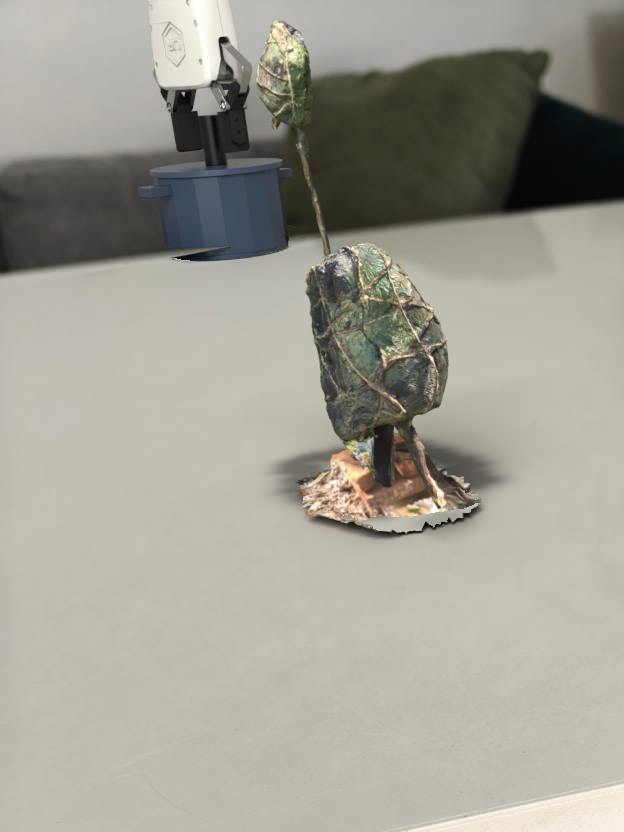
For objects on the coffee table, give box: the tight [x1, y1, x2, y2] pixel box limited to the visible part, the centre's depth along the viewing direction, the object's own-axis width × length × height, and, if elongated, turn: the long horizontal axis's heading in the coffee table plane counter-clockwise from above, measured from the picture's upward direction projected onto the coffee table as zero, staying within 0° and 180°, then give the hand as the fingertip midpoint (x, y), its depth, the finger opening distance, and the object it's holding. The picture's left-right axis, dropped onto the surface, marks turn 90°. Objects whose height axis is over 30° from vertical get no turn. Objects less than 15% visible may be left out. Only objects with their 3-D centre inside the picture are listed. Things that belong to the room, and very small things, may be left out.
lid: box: [148, 113, 284, 179], centre depth 124 cm, size 15×15×6 cm
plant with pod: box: [255, 19, 482, 533], centre depth 47 cm, size 8×11×20 cm
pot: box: [137, 167, 293, 262], centre depth 127 cm, size 14×19×8 cm
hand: (212, 150), depth 124 cm, fingers open, 8 cm apart
